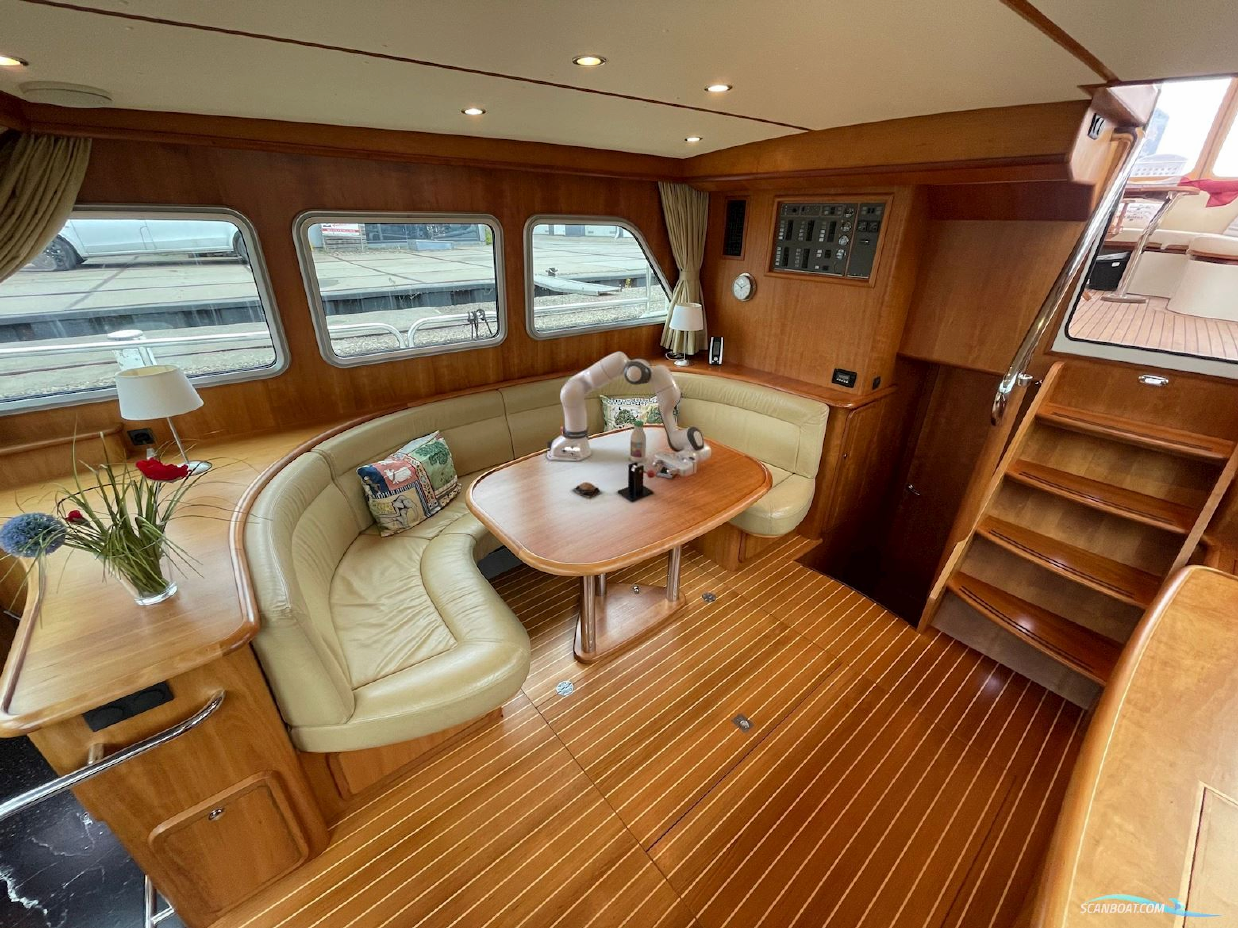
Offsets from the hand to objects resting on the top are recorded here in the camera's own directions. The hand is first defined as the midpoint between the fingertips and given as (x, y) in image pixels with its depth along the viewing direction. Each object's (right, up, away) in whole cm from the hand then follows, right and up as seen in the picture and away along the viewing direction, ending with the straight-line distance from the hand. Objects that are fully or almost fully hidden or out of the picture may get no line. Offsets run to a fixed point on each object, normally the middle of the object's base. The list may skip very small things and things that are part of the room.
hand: (660, 468), depth 213 cm
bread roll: (-33, -10, -3) cm, 34 cm away
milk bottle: (-9, +4, +27) cm, 29 cm away
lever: (-8, -3, -6) cm, 11 cm away
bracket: (-11, -11, -4) cm, 16 cm away
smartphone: (+5, -1, +16) cm, 17 cm away
